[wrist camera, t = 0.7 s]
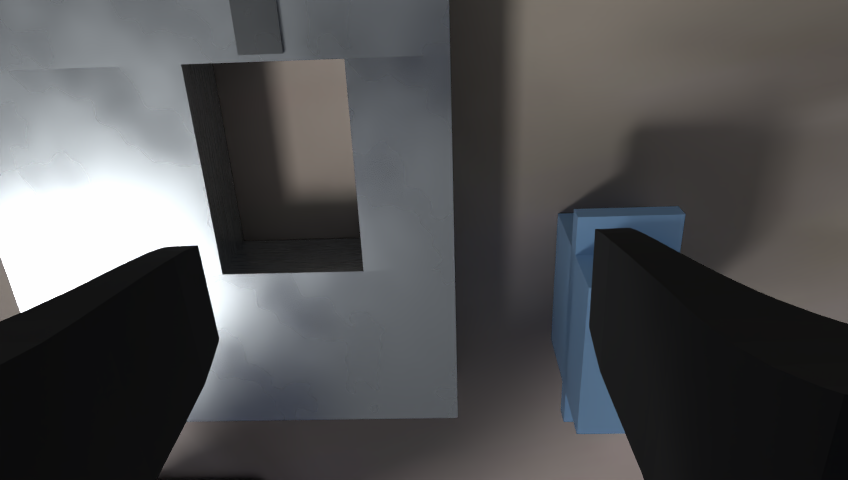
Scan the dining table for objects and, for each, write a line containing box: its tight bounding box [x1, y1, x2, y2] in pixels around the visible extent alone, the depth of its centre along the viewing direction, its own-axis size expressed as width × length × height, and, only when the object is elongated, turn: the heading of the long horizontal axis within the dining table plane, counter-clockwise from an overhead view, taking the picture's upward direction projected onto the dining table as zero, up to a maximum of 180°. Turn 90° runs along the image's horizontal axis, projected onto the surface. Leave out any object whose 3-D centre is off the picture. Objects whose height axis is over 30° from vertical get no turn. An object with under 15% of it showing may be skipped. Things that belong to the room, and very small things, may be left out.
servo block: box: [551, 206, 686, 434], centre depth 20 cm, size 7×3×6 cm, turn 2°
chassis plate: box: [0, 0, 458, 422], centre depth 20 cm, size 16×14×2 cm
